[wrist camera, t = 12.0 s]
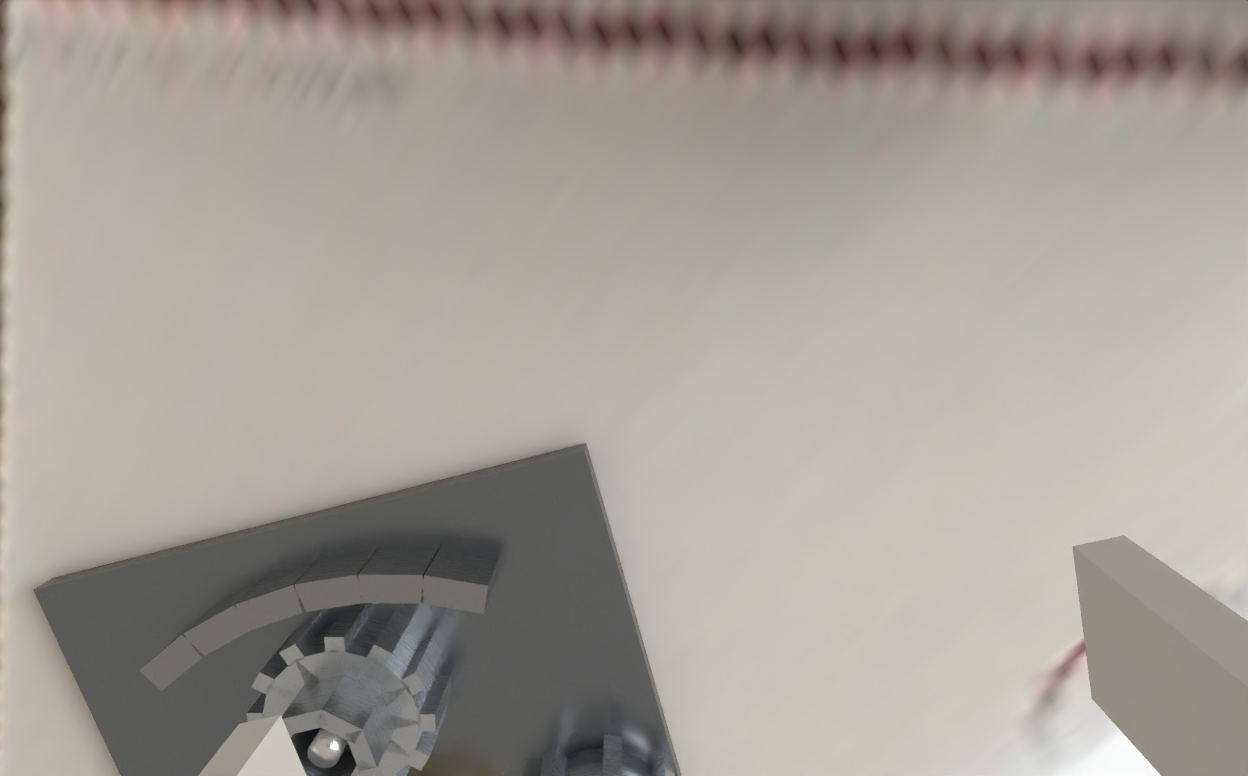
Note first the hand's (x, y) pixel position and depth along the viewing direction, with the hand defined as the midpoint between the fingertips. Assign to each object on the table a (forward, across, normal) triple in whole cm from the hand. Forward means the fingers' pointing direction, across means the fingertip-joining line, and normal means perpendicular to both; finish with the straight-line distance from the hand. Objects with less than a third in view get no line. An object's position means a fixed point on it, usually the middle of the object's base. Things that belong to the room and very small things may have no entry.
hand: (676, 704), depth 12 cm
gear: (+21, -18, -11) cm, 30 cm away
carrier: (+22, -18, -15) cm, 33 cm away
